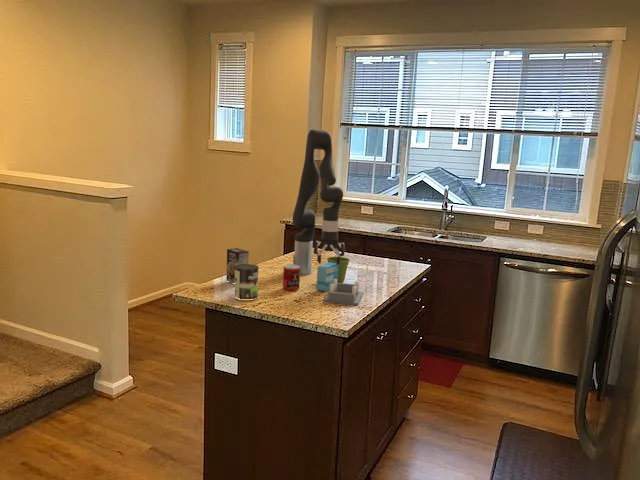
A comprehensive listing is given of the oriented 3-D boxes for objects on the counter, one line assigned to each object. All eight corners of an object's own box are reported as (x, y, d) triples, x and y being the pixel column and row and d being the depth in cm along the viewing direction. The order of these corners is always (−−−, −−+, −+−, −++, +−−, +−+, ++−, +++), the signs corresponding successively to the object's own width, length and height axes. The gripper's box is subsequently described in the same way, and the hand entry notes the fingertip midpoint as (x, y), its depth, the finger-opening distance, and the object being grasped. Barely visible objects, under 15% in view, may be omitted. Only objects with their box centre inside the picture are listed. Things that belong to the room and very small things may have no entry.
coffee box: (225, 281, 266) (226, 249, 264) (236, 279, 271) (237, 247, 268) (237, 286, 260) (238, 252, 257) (248, 283, 265) (249, 250, 262)
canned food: (287, 291, 255) (287, 268, 253) (280, 287, 262) (280, 264, 260) (302, 290, 258) (303, 267, 256) (294, 286, 265) (295, 263, 263)
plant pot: (353, 281, 279) (355, 259, 277) (338, 285, 270) (339, 262, 268) (336, 276, 287) (337, 255, 285) (320, 280, 278) (321, 258, 276)
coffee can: (262, 297, 244) (263, 266, 241) (247, 302, 235) (248, 270, 233) (244, 293, 249) (245, 262, 247) (229, 298, 241) (229, 266, 238)
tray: (323, 301, 242) (324, 286, 241) (331, 291, 259) (331, 276, 258) (357, 305, 239) (358, 289, 238) (362, 294, 257) (363, 279, 255)
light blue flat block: (324, 292, 256) (325, 267, 254) (316, 290, 259) (317, 265, 257) (337, 287, 267) (338, 263, 264) (329, 285, 269) (330, 261, 267)
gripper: (313, 229, 255) (312, 264, 258) (344, 232, 253) (342, 266, 255) (316, 227, 262) (315, 261, 265) (346, 229, 260) (344, 263, 263)
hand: (328, 263), depth 260 cm, fingers open, 8 cm apart
